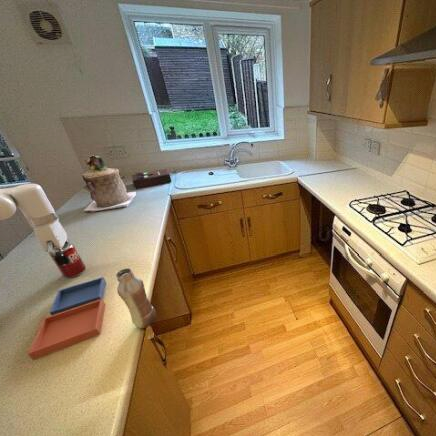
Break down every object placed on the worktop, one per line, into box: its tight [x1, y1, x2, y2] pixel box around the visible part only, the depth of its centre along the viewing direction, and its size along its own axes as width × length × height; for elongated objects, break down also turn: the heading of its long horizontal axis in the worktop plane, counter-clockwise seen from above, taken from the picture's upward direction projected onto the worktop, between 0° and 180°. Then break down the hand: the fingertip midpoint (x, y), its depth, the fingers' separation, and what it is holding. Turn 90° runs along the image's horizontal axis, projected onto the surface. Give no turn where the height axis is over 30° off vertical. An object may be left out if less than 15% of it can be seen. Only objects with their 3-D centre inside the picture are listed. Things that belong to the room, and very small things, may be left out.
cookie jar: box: [82, 154, 137, 213], centre depth 150 cm, size 25×25×32 cm
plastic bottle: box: [115, 268, 157, 329], centre depth 70 cm, size 6×7×20 cm
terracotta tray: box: [27, 298, 106, 360], centre depth 73 cm, size 15×13×3 cm
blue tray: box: [49, 276, 107, 316], centre depth 84 cm, size 13×11×3 cm
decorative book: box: [130, 168, 173, 190], centre depth 189 cm, size 19×8×30 cm
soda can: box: [49, 242, 87, 279], centre depth 94 cm, size 7×7×12 cm
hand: (66, 258), depth 93 cm, fingers closed on soda can, 7 cm apart
